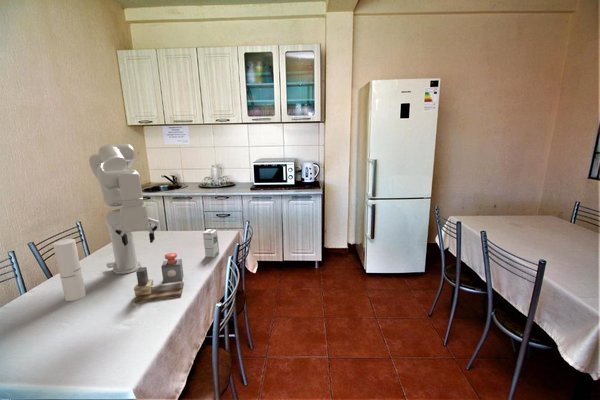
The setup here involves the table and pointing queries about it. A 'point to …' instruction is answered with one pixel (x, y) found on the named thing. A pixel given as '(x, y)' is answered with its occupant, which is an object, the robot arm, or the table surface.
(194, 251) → the table surface
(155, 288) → the slide rail
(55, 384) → the table surface
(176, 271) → the gauge cabinet
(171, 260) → the button
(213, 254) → the syrup box
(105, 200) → the robot arm
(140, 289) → the carriage
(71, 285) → the cylindrical container
